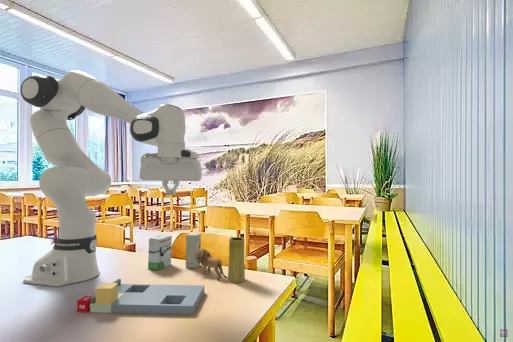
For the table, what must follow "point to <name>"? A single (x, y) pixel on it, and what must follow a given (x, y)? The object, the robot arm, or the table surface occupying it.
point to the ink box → (159, 252)
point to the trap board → (152, 299)
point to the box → (192, 249)
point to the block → (106, 293)
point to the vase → (236, 260)
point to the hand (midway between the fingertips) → (170, 194)
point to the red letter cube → (84, 304)
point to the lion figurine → (209, 262)
